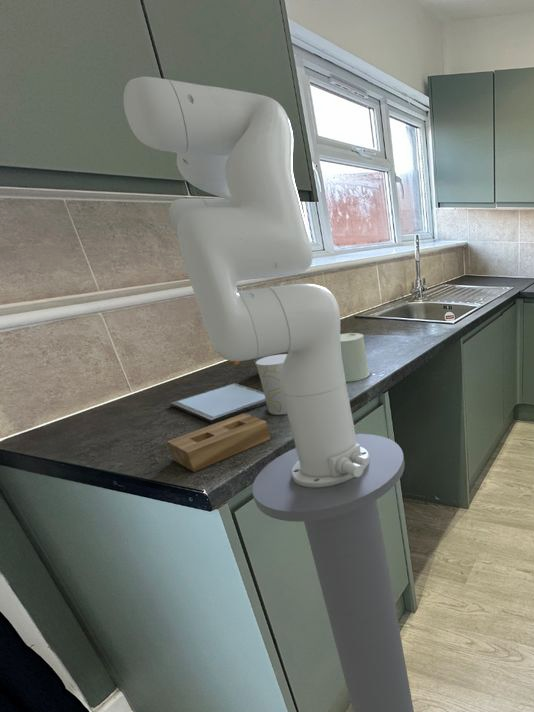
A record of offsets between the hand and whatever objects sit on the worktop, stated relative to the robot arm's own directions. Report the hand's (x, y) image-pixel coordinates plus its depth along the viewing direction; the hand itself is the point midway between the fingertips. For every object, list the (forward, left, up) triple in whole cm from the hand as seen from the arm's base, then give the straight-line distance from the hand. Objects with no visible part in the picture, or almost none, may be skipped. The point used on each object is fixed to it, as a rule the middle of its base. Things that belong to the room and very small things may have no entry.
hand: (229, 338), depth 101 cm
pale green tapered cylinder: (-13, -23, -15) cm, 31 cm away
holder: (-25, +17, -15) cm, 34 cm away
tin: (+10, -13, -15) cm, 22 cm away
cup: (-17, -1, -15) cm, 23 cm away
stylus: (0, 0, -7) cm, 7 cm away
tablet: (0, +5, -15) cm, 16 cm away
